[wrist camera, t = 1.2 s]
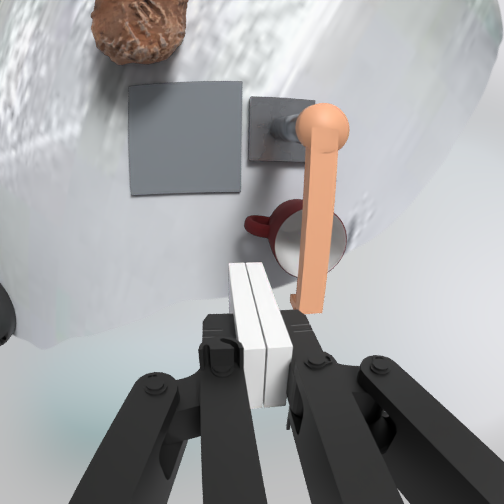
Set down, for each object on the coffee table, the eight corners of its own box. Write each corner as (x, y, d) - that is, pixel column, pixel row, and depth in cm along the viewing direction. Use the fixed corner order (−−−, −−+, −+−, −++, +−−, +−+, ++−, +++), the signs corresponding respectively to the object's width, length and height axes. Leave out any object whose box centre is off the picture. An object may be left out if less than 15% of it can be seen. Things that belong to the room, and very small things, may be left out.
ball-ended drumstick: (281, 301, 32) (288, 320, 28) (290, 104, 25) (300, 100, 22) (319, 299, 32) (330, 317, 29) (334, 108, 25) (350, 106, 22)
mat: (131, 194, 39) (130, 195, 38) (129, 86, 34) (128, 86, 33) (240, 191, 40) (240, 191, 40) (242, 81, 35) (242, 81, 35)
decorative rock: (105, -1, 28) (80, -30, 19) (188, -19, 29) (183, -56, 20) (109, 83, 33) (80, 71, 24) (196, 65, 34) (191, 44, 25)
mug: (240, 248, 43) (248, 282, 34) (240, 188, 40) (249, 206, 31) (316, 246, 44) (342, 277, 35) (320, 189, 41) (350, 206, 32)
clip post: (248, 159, 39) (268, 174, 26) (250, 97, 36) (270, 77, 23) (310, 161, 40) (358, 177, 26) (312, 101, 37) (362, 88, 24)
